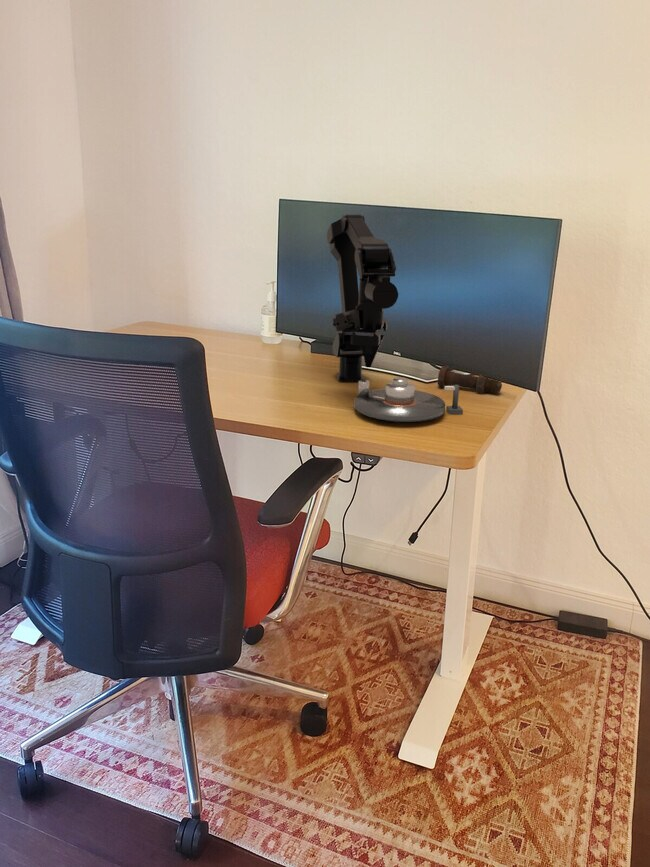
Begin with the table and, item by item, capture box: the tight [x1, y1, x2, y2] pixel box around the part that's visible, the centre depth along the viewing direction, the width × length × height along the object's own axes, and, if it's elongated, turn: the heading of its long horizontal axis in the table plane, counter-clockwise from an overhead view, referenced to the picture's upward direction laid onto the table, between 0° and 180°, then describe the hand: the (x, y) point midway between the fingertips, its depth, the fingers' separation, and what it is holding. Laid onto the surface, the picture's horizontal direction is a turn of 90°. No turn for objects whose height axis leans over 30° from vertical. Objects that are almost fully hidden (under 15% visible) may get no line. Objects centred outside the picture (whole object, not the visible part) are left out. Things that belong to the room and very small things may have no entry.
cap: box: [384, 376, 416, 406], centre depth 165 cm, size 6×6×5 cm
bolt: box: [437, 365, 503, 395], centre depth 184 cm, size 6×5×15 cm
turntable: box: [353, 379, 446, 423], centre depth 166 cm, size 20×20×4 cm
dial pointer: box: [443, 385, 464, 415], centre depth 167 cm, size 3×4×6 cm
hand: (368, 366), depth 175 cm, fingers closed
